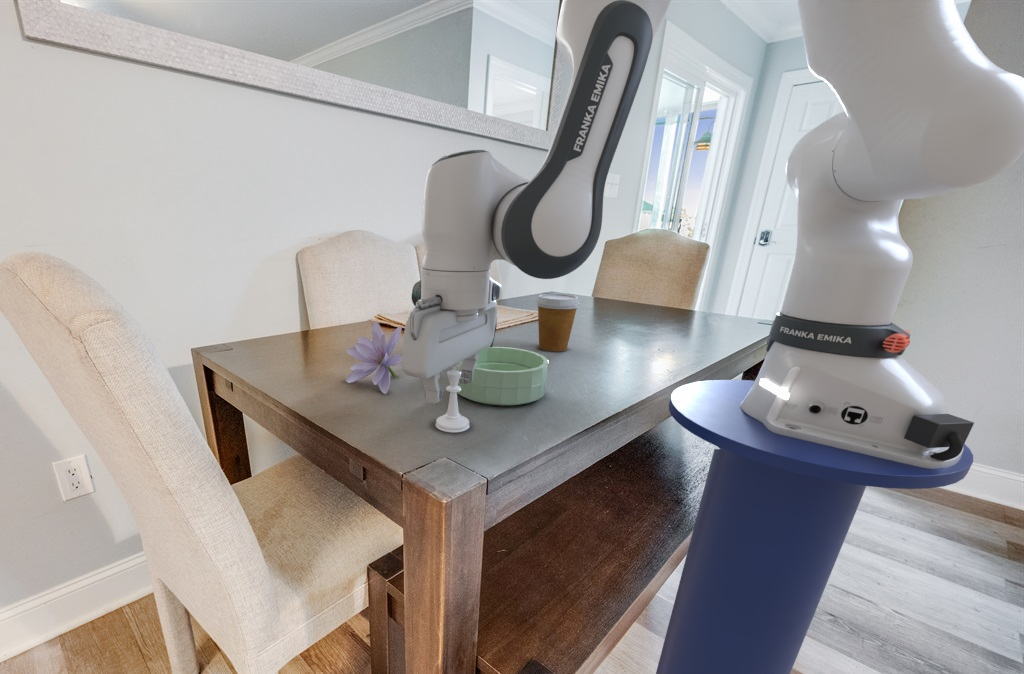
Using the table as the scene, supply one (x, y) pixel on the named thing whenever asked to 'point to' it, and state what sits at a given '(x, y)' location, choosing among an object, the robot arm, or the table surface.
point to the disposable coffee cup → (555, 320)
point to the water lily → (375, 357)
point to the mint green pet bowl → (506, 377)
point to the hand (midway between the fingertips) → (450, 391)
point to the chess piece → (453, 406)
